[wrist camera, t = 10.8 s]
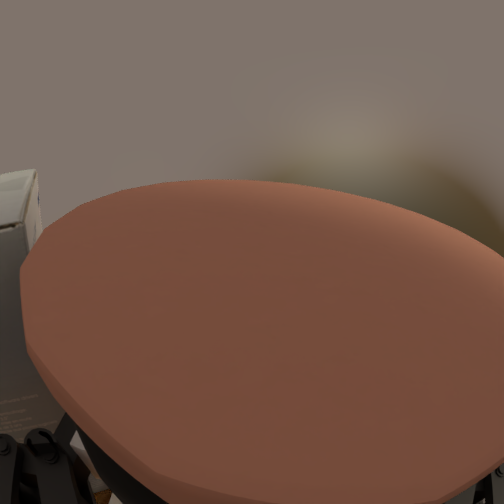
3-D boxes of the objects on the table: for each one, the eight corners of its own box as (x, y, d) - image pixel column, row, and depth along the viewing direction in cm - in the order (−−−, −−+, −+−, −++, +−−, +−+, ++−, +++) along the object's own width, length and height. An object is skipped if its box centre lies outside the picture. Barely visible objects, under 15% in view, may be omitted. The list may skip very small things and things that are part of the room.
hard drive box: (16, 376, 21) (-39, 182, 13) (76, 361, 26) (40, 166, 18) (45, 507, 10) (-127, 252, 3) (129, 486, 15) (30, 210, 7)
